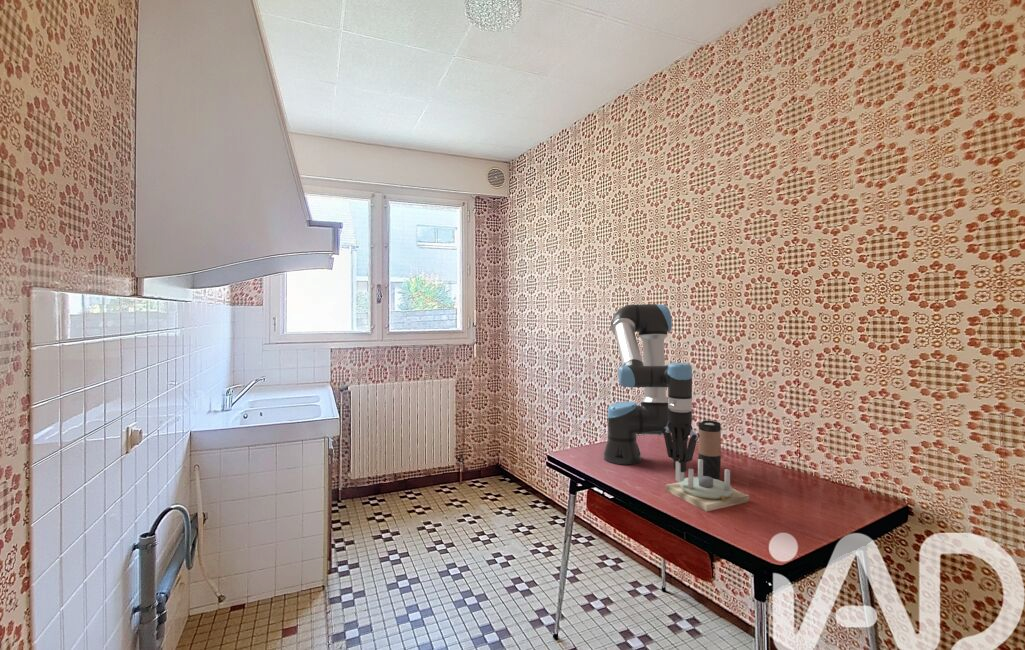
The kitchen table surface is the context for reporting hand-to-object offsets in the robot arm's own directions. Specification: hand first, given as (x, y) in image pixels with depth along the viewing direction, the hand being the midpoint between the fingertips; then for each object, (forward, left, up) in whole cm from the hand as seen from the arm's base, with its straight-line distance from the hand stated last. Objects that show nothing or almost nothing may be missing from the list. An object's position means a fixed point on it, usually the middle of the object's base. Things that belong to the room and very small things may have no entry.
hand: (679, 480), depth 152 cm
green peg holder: (+4, +8, -3) cm, 9 cm away
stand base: (+4, +8, -5) cm, 10 cm away
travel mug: (-9, +23, -5) cm, 25 cm away
